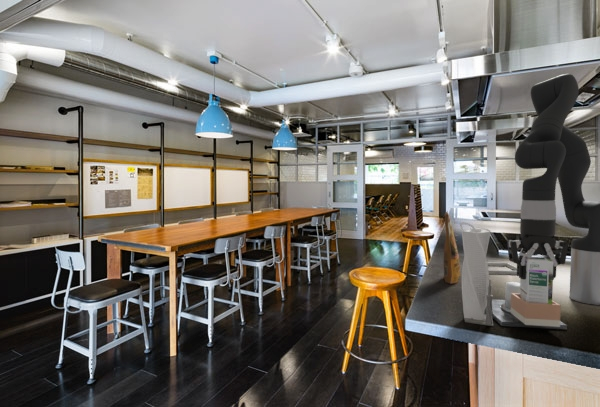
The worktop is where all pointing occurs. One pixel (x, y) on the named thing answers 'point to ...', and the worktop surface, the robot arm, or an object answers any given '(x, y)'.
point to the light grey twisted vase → (476, 277)
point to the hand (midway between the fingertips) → (535, 278)
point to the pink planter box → (531, 308)
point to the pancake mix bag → (450, 254)
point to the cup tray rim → (502, 270)
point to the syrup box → (537, 281)
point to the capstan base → (513, 317)
